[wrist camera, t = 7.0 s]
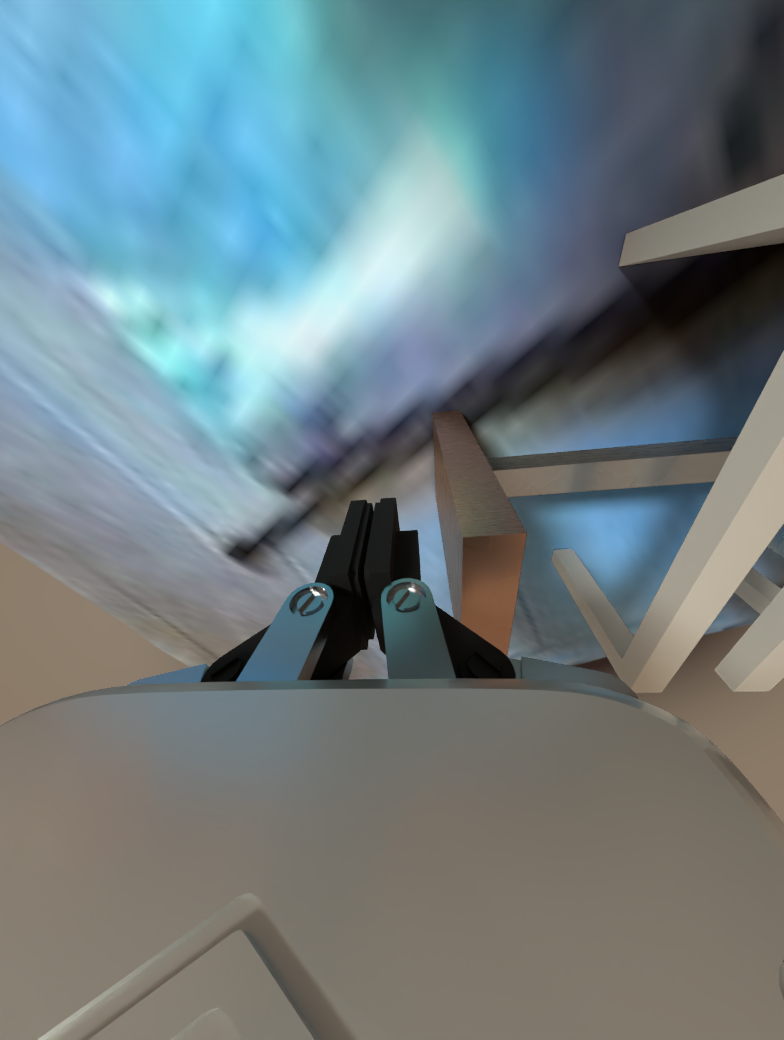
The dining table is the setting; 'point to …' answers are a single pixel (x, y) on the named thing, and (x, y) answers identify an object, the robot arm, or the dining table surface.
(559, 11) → the dining table surface
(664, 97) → the dining table surface
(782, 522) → the white slatted rack
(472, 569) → the rod with wooden block
